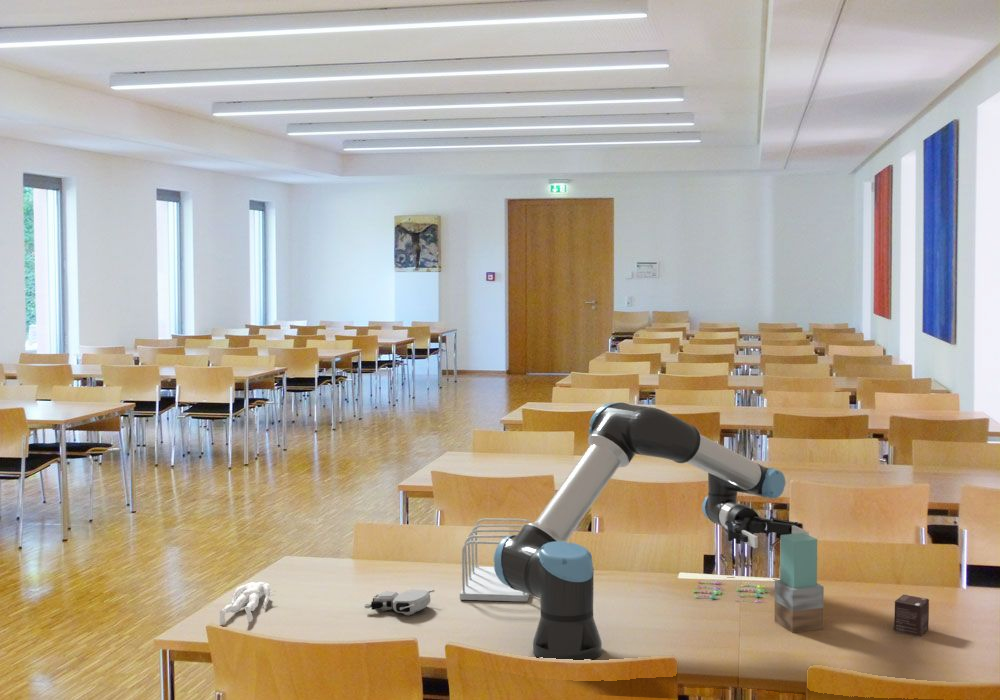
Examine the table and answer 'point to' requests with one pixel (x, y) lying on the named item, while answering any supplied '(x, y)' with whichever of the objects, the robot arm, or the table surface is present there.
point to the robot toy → (401, 601)
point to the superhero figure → (247, 599)
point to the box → (911, 615)
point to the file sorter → (487, 569)
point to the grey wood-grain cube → (799, 607)
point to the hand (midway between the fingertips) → (781, 540)
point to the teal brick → (798, 560)
